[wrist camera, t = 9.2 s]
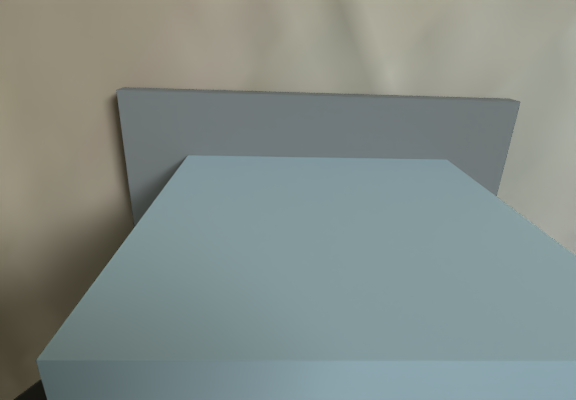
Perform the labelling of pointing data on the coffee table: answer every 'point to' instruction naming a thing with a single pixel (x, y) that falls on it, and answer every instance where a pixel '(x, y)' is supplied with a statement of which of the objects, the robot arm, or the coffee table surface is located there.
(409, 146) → the gray square plate
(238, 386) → the pale blue cube
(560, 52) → the coffee table surface
